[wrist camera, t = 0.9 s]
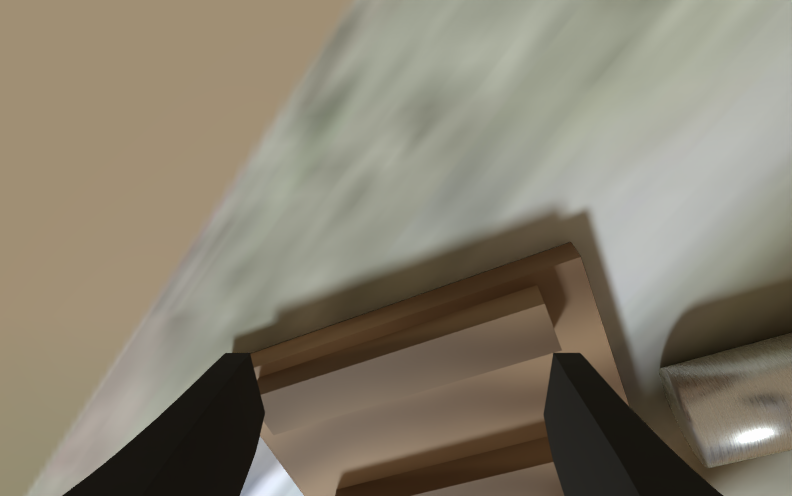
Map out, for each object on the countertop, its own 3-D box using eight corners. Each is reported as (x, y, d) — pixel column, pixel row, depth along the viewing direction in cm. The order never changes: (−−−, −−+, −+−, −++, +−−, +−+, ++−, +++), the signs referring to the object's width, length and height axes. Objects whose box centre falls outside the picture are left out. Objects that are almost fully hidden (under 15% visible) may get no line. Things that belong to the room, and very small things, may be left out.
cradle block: (634, 434, 24) (659, 484, 22) (334, 507, 29) (324, 556, 26) (571, 242, 20) (591, 273, 17) (231, 360, 24) (205, 401, 22)
